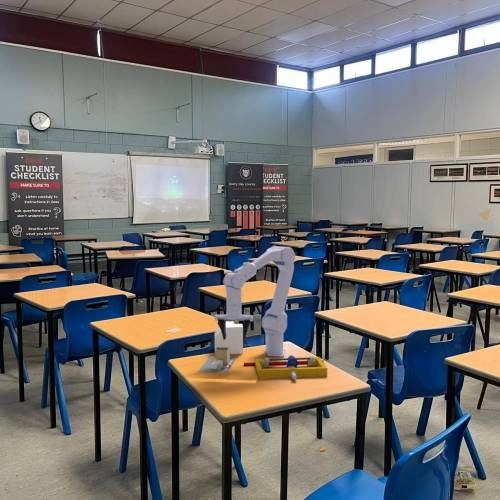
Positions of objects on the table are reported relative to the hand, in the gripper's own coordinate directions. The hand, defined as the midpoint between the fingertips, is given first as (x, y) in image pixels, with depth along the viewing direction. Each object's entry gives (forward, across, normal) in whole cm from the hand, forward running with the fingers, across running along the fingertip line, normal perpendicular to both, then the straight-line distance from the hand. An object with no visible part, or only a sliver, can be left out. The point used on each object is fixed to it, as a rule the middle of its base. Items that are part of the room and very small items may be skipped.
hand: (234, 339), depth 196 cm
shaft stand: (+9, -6, -5) cm, 12 cm away
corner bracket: (+10, -5, +14) cm, 18 cm away
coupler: (+8, -4, -6) cm, 11 cm away
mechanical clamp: (+10, +21, -10) cm, 25 cm away
